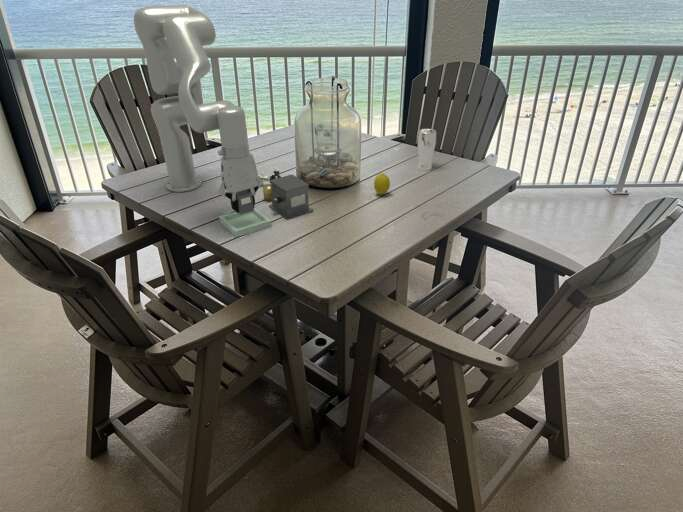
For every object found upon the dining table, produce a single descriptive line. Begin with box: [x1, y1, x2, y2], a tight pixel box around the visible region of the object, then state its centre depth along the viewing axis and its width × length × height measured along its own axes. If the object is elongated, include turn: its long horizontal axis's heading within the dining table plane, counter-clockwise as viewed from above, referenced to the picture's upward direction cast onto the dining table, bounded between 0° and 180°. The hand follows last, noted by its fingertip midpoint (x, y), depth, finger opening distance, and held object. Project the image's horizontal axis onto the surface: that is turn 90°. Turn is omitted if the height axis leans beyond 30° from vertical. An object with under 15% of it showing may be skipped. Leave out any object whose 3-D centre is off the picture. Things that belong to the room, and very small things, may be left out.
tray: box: [218, 207, 273, 238], centre depth 142 cm, size 12×12×2 cm
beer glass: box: [416, 128, 437, 171], centre depth 179 cm, size 7×7×15 cm
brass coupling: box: [262, 183, 272, 203], centre depth 157 cm, size 4×4×5 cm
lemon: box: [373, 172, 391, 196], centre depth 159 cm, size 6×6×8 cm
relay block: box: [236, 190, 255, 215], centre depth 138 cm, size 5×4×6 cm
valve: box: [258, 170, 282, 182], centre depth 167 cm, size 7×7×12 cm
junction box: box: [268, 174, 314, 220], centre depth 149 cm, size 12×11×10 cm
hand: (243, 208), depth 139 cm, fingers closed on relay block, 4 cm apart
